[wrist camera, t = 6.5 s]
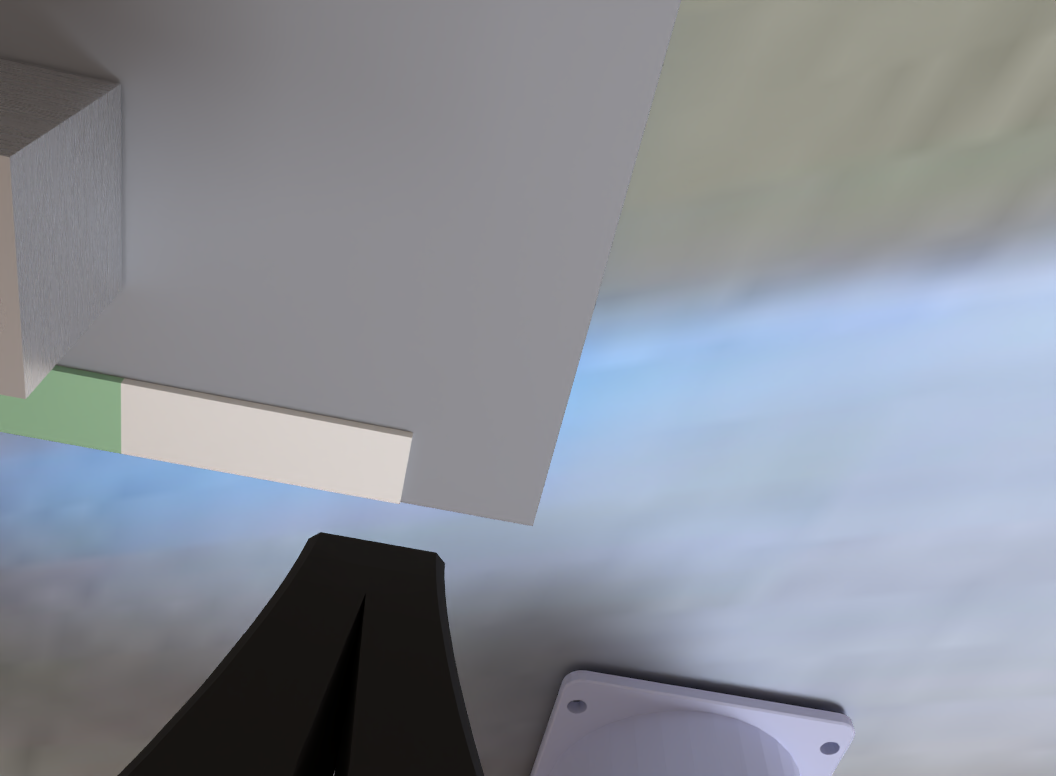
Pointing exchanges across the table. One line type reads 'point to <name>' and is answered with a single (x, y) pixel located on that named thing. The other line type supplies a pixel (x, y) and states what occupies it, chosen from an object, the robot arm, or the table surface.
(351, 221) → the gauge board
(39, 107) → the grey block
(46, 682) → the table surface
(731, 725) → the robot arm
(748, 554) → the table surface
